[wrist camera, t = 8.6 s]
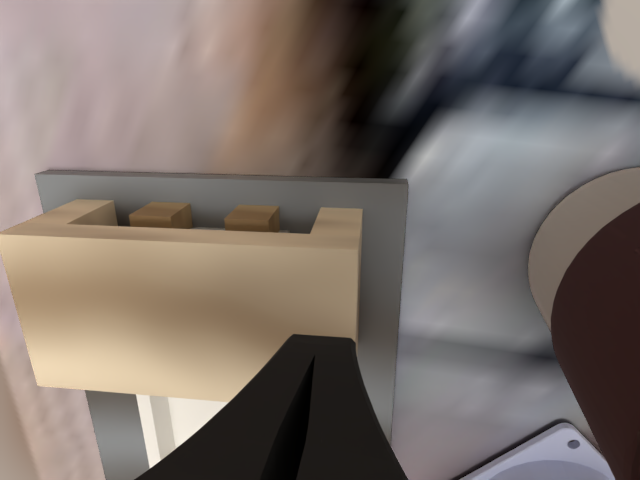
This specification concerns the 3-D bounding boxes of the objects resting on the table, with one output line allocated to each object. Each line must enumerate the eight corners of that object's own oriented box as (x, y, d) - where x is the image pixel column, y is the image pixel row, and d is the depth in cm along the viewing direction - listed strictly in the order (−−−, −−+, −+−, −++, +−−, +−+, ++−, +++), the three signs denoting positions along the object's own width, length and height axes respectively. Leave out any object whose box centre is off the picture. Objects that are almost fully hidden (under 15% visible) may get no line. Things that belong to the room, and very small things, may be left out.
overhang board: (379, 576, 25) (380, 689, 21) (131, 544, 27) (80, 642, 22) (407, 179, 17) (417, 219, 12) (48, 170, 19) (-61, 202, 14)
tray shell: (296, 460, 22) (289, 496, 20) (170, 448, 23) (152, 481, 21) (289, 230, 18) (279, 249, 16) (134, 224, 18) (107, 242, 17)
